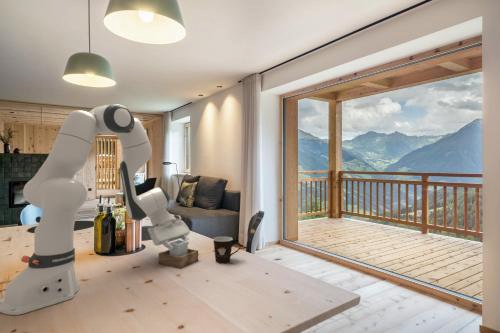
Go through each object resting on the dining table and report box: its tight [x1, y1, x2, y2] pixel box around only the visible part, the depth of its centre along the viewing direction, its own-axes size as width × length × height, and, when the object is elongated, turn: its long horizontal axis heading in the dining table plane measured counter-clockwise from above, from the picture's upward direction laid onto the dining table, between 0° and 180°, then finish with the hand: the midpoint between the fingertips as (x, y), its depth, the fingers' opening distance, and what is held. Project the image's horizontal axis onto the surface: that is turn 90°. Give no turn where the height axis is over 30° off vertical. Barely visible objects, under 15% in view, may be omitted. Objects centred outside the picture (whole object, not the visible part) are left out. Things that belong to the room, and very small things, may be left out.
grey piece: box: [169, 239, 189, 257], centre depth 136 cm, size 6×5×8 cm
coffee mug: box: [213, 236, 242, 264], centre depth 137 cm, size 12×9×10 cm
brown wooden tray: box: [158, 248, 199, 269], centre depth 136 cm, size 12×12×4 cm
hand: (179, 247), depth 135 cm, fingers open, 8 cm apart
